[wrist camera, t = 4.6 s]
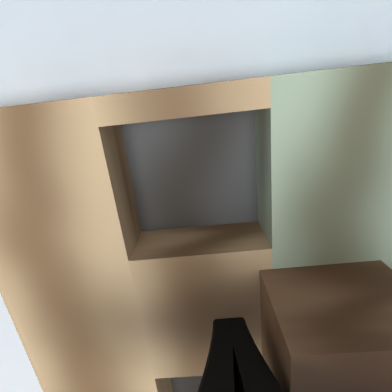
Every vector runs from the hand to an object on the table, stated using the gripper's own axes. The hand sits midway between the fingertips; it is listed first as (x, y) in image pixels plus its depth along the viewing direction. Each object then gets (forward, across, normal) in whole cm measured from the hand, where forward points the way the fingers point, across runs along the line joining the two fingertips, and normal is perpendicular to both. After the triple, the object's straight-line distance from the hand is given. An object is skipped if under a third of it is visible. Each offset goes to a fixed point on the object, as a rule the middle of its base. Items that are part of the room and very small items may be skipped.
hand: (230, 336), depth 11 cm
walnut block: (+1, -4, 0) cm, 4 cm away
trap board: (+4, +1, 0) cm, 4 cm away
